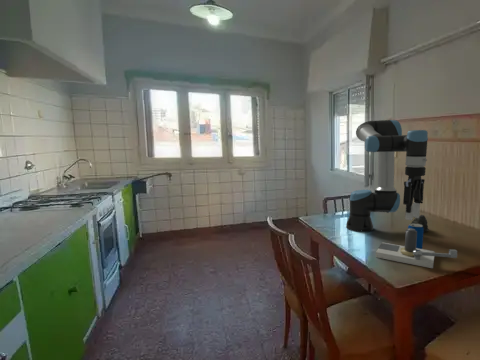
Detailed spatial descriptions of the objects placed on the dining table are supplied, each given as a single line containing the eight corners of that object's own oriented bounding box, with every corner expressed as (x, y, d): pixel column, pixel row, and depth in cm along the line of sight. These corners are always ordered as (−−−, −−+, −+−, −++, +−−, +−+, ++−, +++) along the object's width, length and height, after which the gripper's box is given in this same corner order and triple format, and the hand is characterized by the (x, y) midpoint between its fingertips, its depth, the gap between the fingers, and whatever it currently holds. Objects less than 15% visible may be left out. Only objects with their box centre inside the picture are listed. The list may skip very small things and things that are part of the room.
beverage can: (408, 245, 148) (409, 222, 146) (423, 248, 144) (424, 224, 142) (405, 249, 143) (407, 225, 141) (421, 252, 139) (422, 227, 137)
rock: (433, 230, 162) (426, 213, 165) (414, 234, 164) (408, 217, 167) (426, 232, 173) (420, 215, 176) (409, 235, 175) (403, 219, 178)
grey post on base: (398, 259, 130) (400, 230, 129) (401, 254, 137) (402, 225, 135) (418, 263, 126) (420, 233, 124) (420, 257, 132) (422, 228, 130)
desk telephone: (375, 257, 134) (376, 248, 133) (381, 247, 146) (382, 239, 145) (432, 268, 121) (433, 258, 121) (434, 256, 133) (435, 247, 133)
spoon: (411, 252, 127) (412, 246, 127) (454, 255, 123) (454, 248, 123) (414, 255, 124) (414, 249, 123) (457, 258, 120) (458, 251, 119)
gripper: (414, 168, 117) (410, 224, 121) (434, 165, 128) (431, 216, 131) (395, 167, 124) (392, 220, 127) (416, 164, 134) (413, 213, 137)
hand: (412, 218), depth 129 cm, fingers open, 5 cm apart
